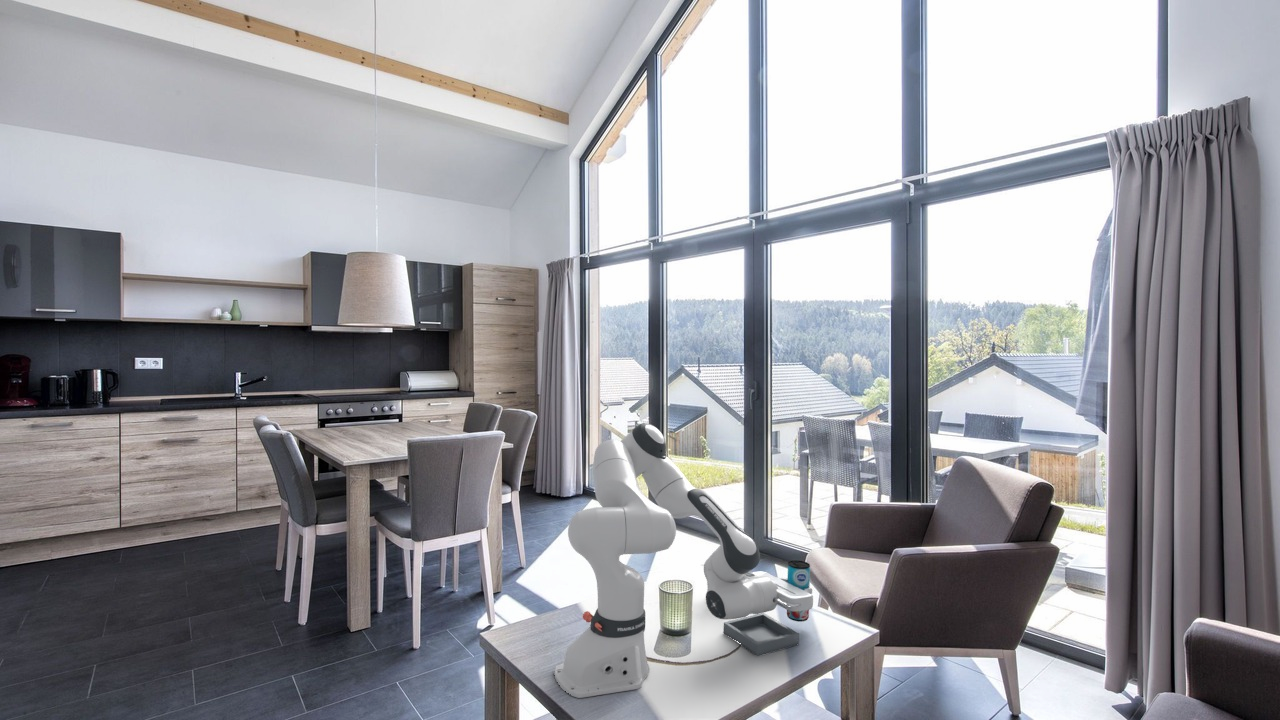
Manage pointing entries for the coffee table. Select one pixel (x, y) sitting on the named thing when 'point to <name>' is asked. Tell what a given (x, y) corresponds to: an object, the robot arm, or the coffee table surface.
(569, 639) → the coffee table surface
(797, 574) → the beverage can
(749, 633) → the box
